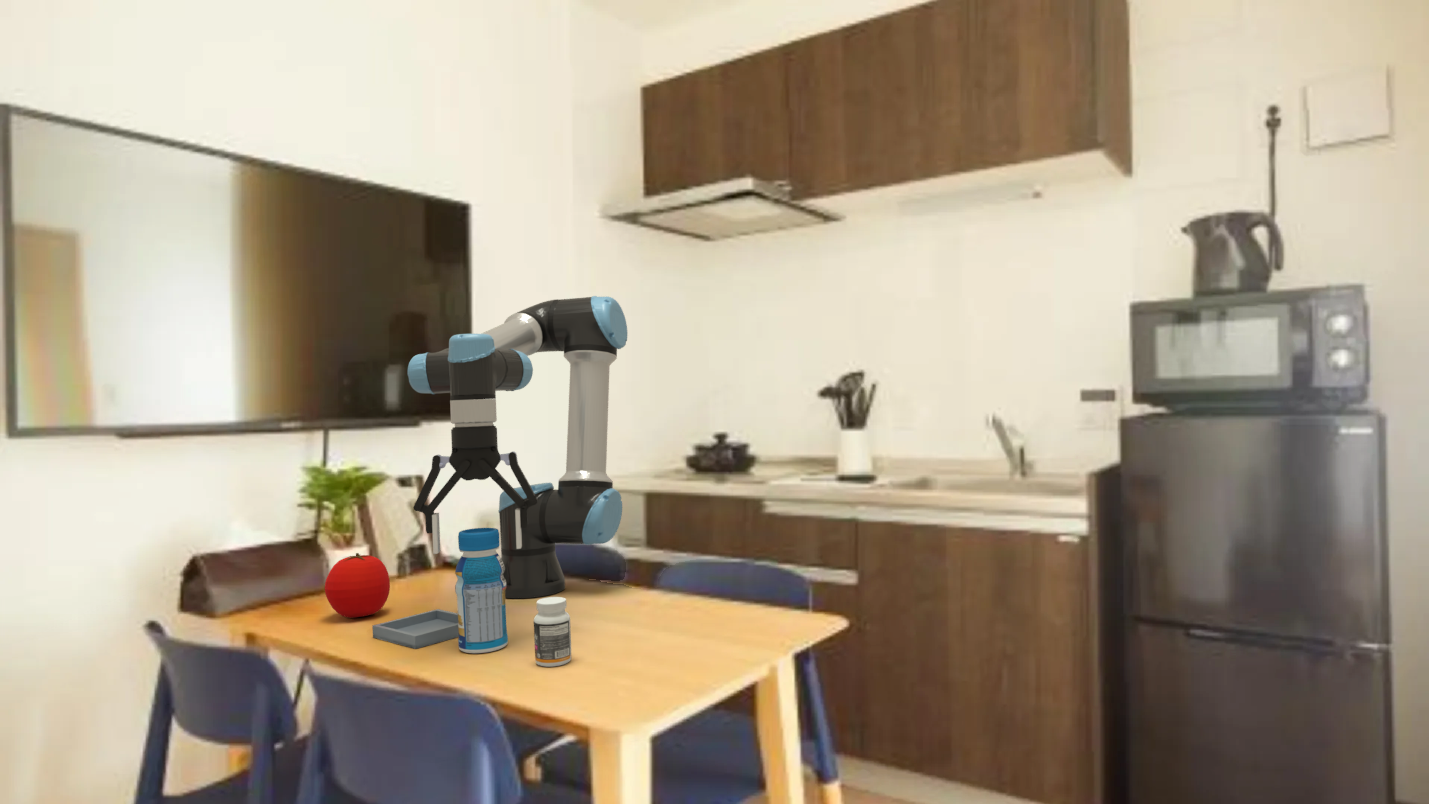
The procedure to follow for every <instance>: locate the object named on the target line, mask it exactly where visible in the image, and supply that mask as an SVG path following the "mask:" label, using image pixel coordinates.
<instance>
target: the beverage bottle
mask: <svg viewBox="0 0 1429 804" xmlns="http://www.w3.org/2000/svg"><path fill="white" fill-rule="evenodd" d="M457 540H458V541H457V542H458V550H459V552H460V553H463V554H462V555H461V556H460V558H459V560H458V562H457V563H456V567H455V572H454V574H455V576H456V578H457V581H456V582H455V586H454V593H455V595H456V602H457V603H456V604H457V613H458V628H459V637H458V643H457V645H458V648H459V651H461V652H463V653H467V654H484V653H485V654H486V653H491V652H496V651H499V650H501V649H503V648H505V647H506V646H507V645H508V643H509V642H508V641H509V640H508V639H509V636H508V630H507V627H508V626H507V604H506V602H507V601H506V598H505V590H506V580H505V578H504V576H503V573H504V571H505V566H504V563H503V561H502V559H501V555H499V554H498V552H497V550H499V549H500V530H499V529H498V528H497V527H478V528H477V527H475V528H468V529H463V530H461V531H459V532H458V536H457Z"/></svg>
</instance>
